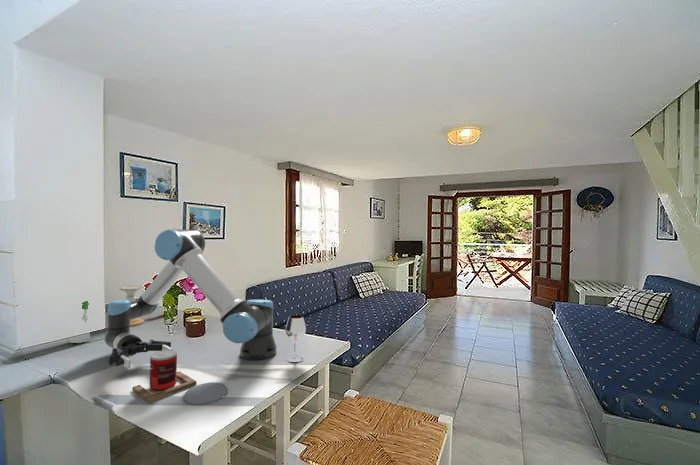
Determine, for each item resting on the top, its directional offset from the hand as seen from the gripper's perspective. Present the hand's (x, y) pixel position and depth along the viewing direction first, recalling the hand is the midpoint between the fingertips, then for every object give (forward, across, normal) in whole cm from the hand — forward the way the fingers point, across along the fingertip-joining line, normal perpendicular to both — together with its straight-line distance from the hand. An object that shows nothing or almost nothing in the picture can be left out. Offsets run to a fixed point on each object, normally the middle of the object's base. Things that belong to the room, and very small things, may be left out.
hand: (151, 358), depth 114 cm
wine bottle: (-63, +5, -7) cm, 63 cm away
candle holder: (-77, -20, -7) cm, 80 cm away
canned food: (+9, 0, -7) cm, 12 cm away
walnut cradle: (+11, 0, -7) cm, 13 cm away
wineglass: (+27, -44, -7) cm, 52 cm away
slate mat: (+25, -6, -7) cm, 27 cm away
